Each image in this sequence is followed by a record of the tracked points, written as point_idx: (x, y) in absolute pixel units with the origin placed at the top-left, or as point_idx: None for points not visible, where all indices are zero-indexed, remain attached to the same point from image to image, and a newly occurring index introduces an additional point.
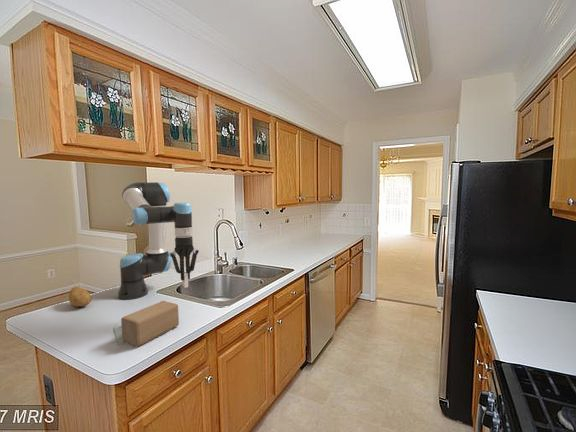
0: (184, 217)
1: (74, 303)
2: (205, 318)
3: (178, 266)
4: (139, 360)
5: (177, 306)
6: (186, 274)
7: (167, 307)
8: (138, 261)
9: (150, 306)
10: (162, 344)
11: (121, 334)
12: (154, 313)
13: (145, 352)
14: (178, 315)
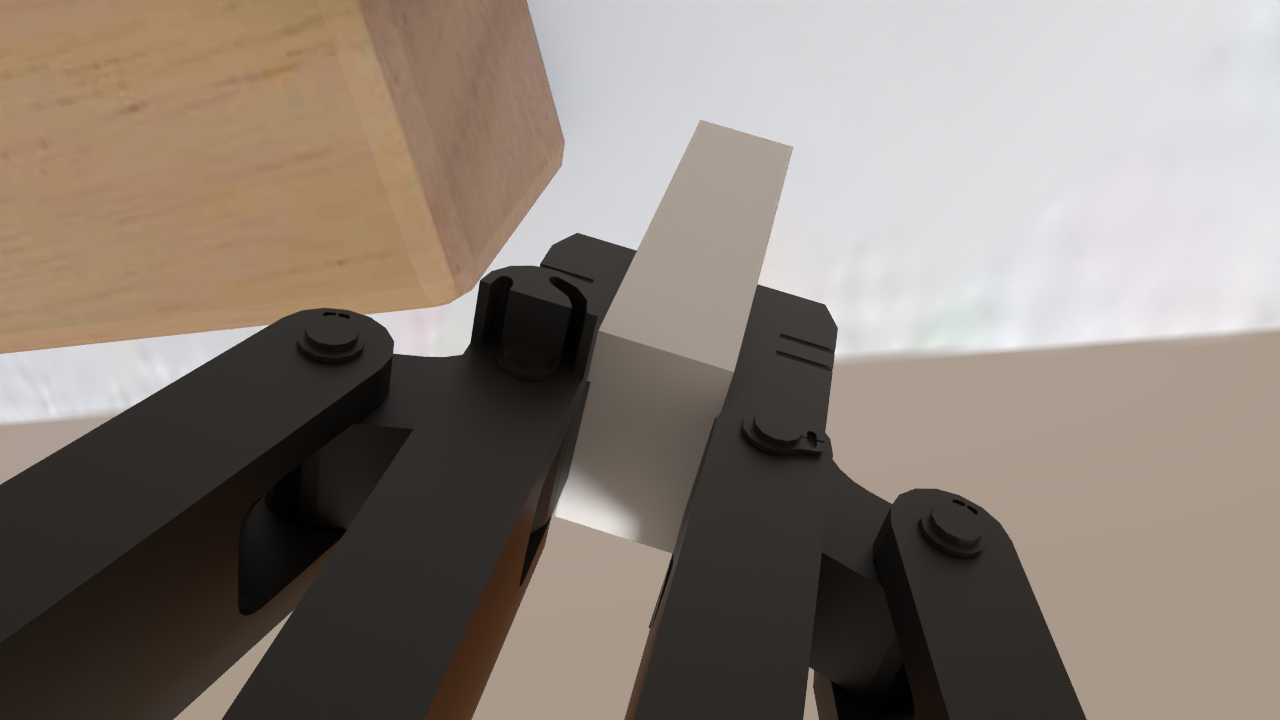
0: None
1: None
2: (966, 236)
3: (181, 696)
4: (72, 408)
5: (453, 300)
6: (633, 519)
7: (265, 303)
8: None
9: (33, 16)
10: None
11: None
12: (61, 331)
13: (127, 343)
14: (522, 217)
